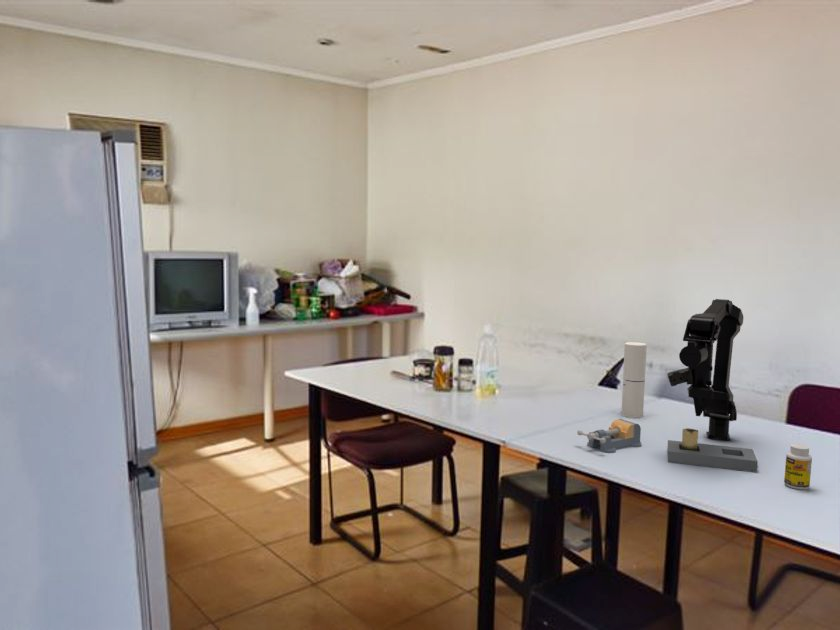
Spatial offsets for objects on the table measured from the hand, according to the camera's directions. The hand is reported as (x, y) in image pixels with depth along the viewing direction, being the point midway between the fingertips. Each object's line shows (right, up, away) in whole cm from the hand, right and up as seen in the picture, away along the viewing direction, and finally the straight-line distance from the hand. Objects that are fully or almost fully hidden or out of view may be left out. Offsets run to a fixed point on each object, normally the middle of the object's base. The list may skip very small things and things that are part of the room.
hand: (697, 415), depth 188 cm
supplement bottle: (+16, -15, -21) cm, 30 cm away
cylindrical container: (-4, -7, +44) cm, 45 cm away
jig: (+2, -12, -3) cm, 12 cm away
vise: (-22, -11, +9) cm, 26 cm away
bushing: (-3, -12, -1) cm, 12 cm away
